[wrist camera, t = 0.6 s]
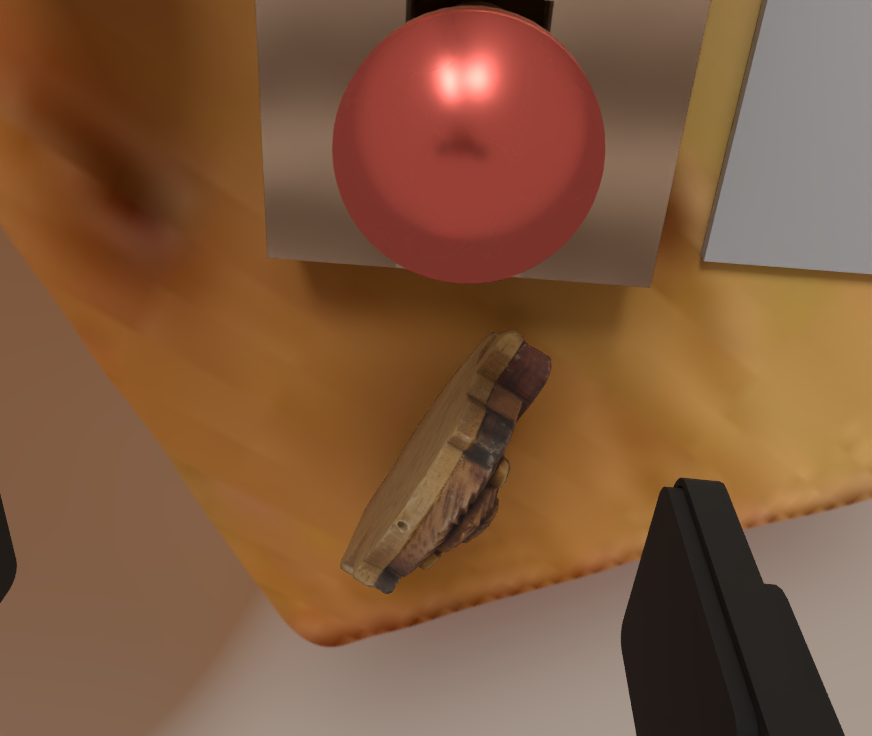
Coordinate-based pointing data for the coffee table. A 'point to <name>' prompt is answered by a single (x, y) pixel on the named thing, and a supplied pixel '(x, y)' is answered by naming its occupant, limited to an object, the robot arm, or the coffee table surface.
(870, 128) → the mat
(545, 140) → the peg
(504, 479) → the wooden carving
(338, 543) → the coffee table surface
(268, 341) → the coffee table surface
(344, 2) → the eye block
